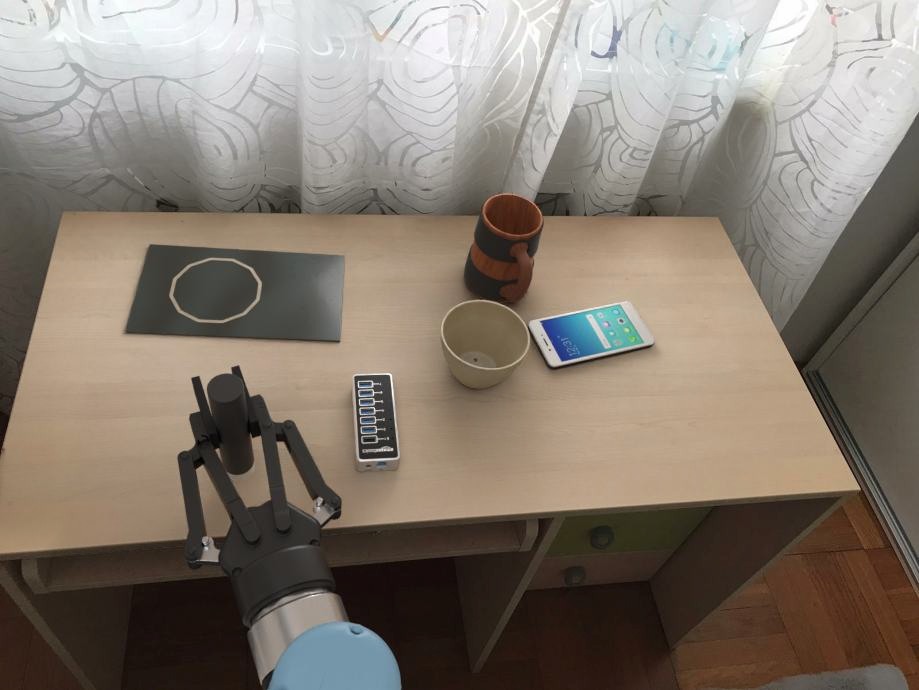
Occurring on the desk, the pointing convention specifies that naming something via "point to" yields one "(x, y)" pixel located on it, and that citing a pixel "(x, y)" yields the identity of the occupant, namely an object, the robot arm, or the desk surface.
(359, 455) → the multiport hub
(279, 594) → the robot arm
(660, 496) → the desk surface
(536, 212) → the mug
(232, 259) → the board
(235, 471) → the cylinder
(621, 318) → the smartphone
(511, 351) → the flower pot
